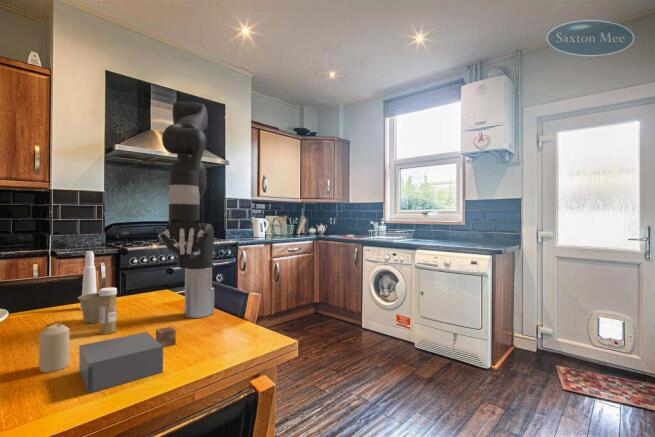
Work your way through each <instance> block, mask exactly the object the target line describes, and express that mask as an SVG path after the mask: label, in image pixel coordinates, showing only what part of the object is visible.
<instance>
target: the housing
mask: <svg viewBox="0 0 655 437" xmlns="http://www.w3.org/2000/svg"><path fill="white" fill-rule="evenodd" d="M78 350H79V353H78V354H79V356H78V357H79V359H78V360H79V362H78V365H79V366H78V367H79V370H78V371H79V374H80V377H81V379H82V382H83V386H84V388H85V389H86V392H87V394H93V393H96V392H101V391H103V390H106V389H110V388H114V387H117V386H120V385H124V384H127V383H131V382H134V381H137V380H138V381H139V380H140V379H145V378H148V377H152V376H155V375H158V374H161V373H162V374H163V373H164V372H163V371H164V370H163V369H164V347H163V346H162V345H161V344H160V343H159V342H158V341H156V338H154V336H152V335H151V334H150V333H149V332H148V331H143V332H139V333H134V334H130V335H125V336H124V335H123V336H120V337H113V338H109V339H105V340H100V341H95V342H90V343H84V344H81V345H80V344H79V349H78Z"/></svg>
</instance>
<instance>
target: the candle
mask: <svg viewBox="0 0 655 437" xmlns="http://www.w3.org/2000/svg"><path fill="white" fill-rule="evenodd" d="M38 337H39V338H38V344H39V345H38V370H39V372H40V373H44V374H45V373H53V372H58V371H61V370H64V369H66V368H68V367H69V365H70V328H69V327H68V326H66V325H65V324H62V323H60V322H58V323H54V324H52V325H51V326H47V327H45V328H44V329H42V330H41V331H40V333H39V334H38Z"/></svg>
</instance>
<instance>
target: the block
mask: <svg viewBox="0 0 655 437" xmlns="http://www.w3.org/2000/svg"><path fill="white" fill-rule="evenodd" d="M176 331H177V330H176V329H175V328H174V327H173V326H168V327H167V326H166V327H163V328H158V329H155V340H156V341H158V342H159V343H160V344H161V345H162V346H163V348H166V347H171V346H175V345H177V344H176V343H177V341H176V333H177V332H176Z"/></svg>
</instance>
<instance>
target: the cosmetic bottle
mask: <svg viewBox="0 0 655 437" xmlns="http://www.w3.org/2000/svg"><path fill="white" fill-rule="evenodd" d="M84 256H85V258H84V260H85V262H84V265H85V266H83V275H82V276H83V277H82V289H81V290H82V291H81V296H82V295H86V294H92V293H98V292H97V291H98V290H97V288H98V287H97V273H96V272H97V271H96V266H95V254H94V251H93V250H90V251H89V250H87V251H86V252H85V254H84ZM79 310H81V311H82V306H81V304H80V306H79Z"/></svg>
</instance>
